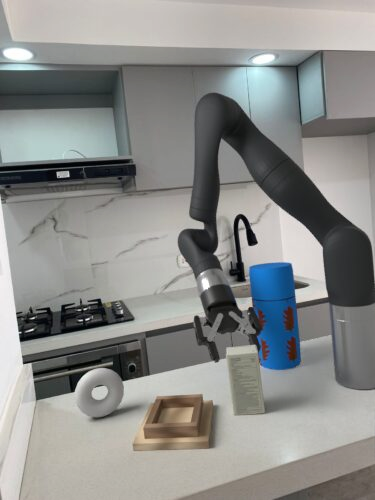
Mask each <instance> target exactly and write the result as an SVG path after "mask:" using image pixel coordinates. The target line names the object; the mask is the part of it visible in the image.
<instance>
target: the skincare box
mask: <svg viewBox="0 0 375 500" xmlns="http://www.w3.org/2000/svg"><path fill="white" fill-rule="evenodd" d="M225 358H226V366H227V374H228V380H229V389H230V395H231V396H230V397H231V405H232V412H233V413H232V414H233V415H234V416H244V415H257V414H265V413H266V408H265V407H266V406H265V399H264V392H263V391H264V390H263V384H262V374H261V367H260V366H261V365H260V363H259V357H258V350H257V347H256V345H250V344H248V345H238V346H229V347H227V346H226V347H225Z"/></svg>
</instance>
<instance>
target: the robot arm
mask: <svg viewBox="0 0 375 500" xmlns="http://www.w3.org/2000/svg"><path fill="white" fill-rule="evenodd" d="M193 122H194V166H193V167H194V168H193V169H194V170H193V181H192V189H191V195H190V202H189V210H188V215H189V218H191V220H194V221H197V222H199V223H203V228H185V229H183V230H181V231H180V232H179V234H178V237H177V247H178V251H179V252H180V255H181V256H182V257H183V258H184V260H185V262H186V263H187V265H188V266H189V267H190V268H191V271H192V273H193V276H194V279H195V282H196V288H197V292H198V297H199V299H200V302H201V305H202V308H203V312H204V315H205V316H199V315H194V317H193V323H192V325H193V330H194V335H195V340H196V344H197V346H198V347H201V346H205V347H207V350H208V354H209V357H210V359H211V361H214V363H219V362H220V360H221V359H220V355H219V354H220V353H219V351H218V348H217V344H216V341H215V339H216V338H217V335H218V334H220V335H225V334H227V333H235V332H237V333H238V334H240V335H242V336H245V337H246V338H248V343H249V345H256V347H257V350H258V353H259V351H260V349H261V346H260V344H259V341H258V338H257V335H260V333H261V330H262V329H263V327H262V325H261V323H260V321H259V319H258V317H257V315H256V313H255V311H254V309H253V306H248V308H247V309H243V310H242V309H240V308H239V305H238V303H237V299H236V298H235V295H234V292H233V290H232V287H231V284H230V283H229V280H228V278H227V276H226V275H225V272H224V270H223V267H222V264H221V261H220V259H219V258H218V256H217V255H216V254H215V253H216V252H217V250H218V247H219V235H218V234H219V233H218V224H217V223H218V222H217V213H218V206H219V200H220V196H221V195H220V192H221V180H220V179H221V178H220V171H219V150H220V144H221V141H224V142H226V144H228V145H229V146H230V147H231V148H232V149H233V150H234V151H235V152H236V153H237V154H238V155H239V156H240V158H241V159H242V161H243V163H244V165H245V167H246V169H247V171H248V172H249V174H250V176H251V177H252V179H253V181H254V182H255V184H256V185H257V186H258V187H259V189H261V190H262V191H263V193H264V194H265V195H266V196H267V198H269V199H270V200H271V201H272V202H274V204H275V205H276V206H278V207H279V208H280V209H282V211H284V212H286V213H287V214H288V215H290V217H292V218H294V219H295V220H296V221H297V222H299V223H300V224H302V225H303V226H304V227H305V228H306V229H307V230H308V231H309V232H310V233H311V235H312V236H313V237H314V238H315V240H316V241H317V242H318V243H319V244H320V246H321V247H322V263H323V272H324V280H325V289H326V294H327V300H328V311H329V320H330V321H329V322H330V323H329V324H330V332H331V333H330V334H331V344H332V356H333V366H334V367H333V369H334V378H335V381H336V382H337V383H338V384H339V385H342V386H343V387H346V388H350V389H355V390H372V389H375V269H374V268H375V267H374V266H375V265H374V254H373V245H372V242H371V239H370V237H369V235H368V234H367V233H366V232H365V231H364V230H362V229H361V228H360V227H358V226H357V225H355V224H354V223H353V222H352V221H351V220H349V219H348V218H346V216H344V215H343V214H342V213H341V212H340V211H338V210H337V209H336V208H335V207H334V206H333V205H332V204H331V203H330V201H329V200H328V199H327V198H326V197H325V195H324V194H323V193H322V192H321V190H320V188H318V186H317V185H316V184H315V183H314V182H313V180H312V179H311V178H310V177H309V175H308V174H306V172H305V171H304V170H303V169H302V168H301V167H300V166H299V165H298V164H297V163H296V162H295V161H294V160H293V158H291V157H290V156H289V155H288V154H287V153H286V152H285V151H284V150H282V149H281V148H280V146H278V145H277V144H276V143H275V142H274V141H272V140H271V139H270V138H268V137H267V136H266V135H265V134H264V133H262V131H261V130H260V129H259V128H258V127H257V126H256V124H255V123H254V122H253V120H251V118H250V116H248V115H247V113H246V112H245V111H244V109H243V108H242V106H241V105H240V104H239V103H238V102H237V101H236V100H235V99H233V98H232V97H229V96H226V95H225V94H221V93H218V92H209V93H206V94H204V95H203V96H202V97H201V98H200V99H199V100H198V102H197V104H196V106H195V109H194V121H193ZM243 318H245V320H246V321H245V320H244V319H243ZM247 321H248V322H249V324H250V325H249V324H248V322H247ZM204 324H205V325H207V326H208V327H210V332H209V334H208V336H204V331H203V328H204Z"/></svg>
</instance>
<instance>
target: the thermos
mask: <svg viewBox="0 0 375 500" xmlns="http://www.w3.org/2000/svg"><path fill="white" fill-rule="evenodd" d="M248 269H249V270H248V276H249V286H250V295H251V304H252V306H251V307H253V309H254V311H255V313H256V315H257V317H258V319H259V321H260V323H261V325H262V327H263V329H262V330H261V333H260V335H257V338H258V341H259V344H260V346H261V349H260V351H259V353H258V357H259V365H260V366H261V367H263V368H265V369H268V370H275V371H276V370H277V371H280V370H283V371H284V370H285V371H286V370H291V369H294V368H296V366H297V367H298V366H300V364H301V363H302V362H301V361H302V360H301V357H302V356H301V355H302V353H301V340H300V332H299V331H300V329H299V321H298V320H299V319H298V310H297V295H296V287H295V275H294V268H293V265H292V262H285V261H284V262H281V261H280V262H279V261H278V262H266V263H258V264H254V265H251V266H249V267H248ZM300 362H301V363H300ZM290 368H291V369H290Z"/></svg>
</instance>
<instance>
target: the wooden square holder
mask: <svg viewBox="0 0 375 500" xmlns="http://www.w3.org/2000/svg"><path fill="white" fill-rule="evenodd" d="M213 412H214V401H213V399H209V400H208V399H205V400H204V396H203V393H198V394H197V393H196V394H195V393H194V394H177V395H176V394H175V395H156V397H155V400H154V402H151V403H150V405H149V407H148V408H147V411H146V413H145V416H144V418H143V420H142V422H141V424H140V426H139V428H138V431H137V433H136V436H135V437H134V440H133V442H132V451H159V450H161V451H164V450H165V451H166V450H191V449H192V450H194V449H197V450H198V449H210V443H211V442H210V440H211V433H212V431H211V430H212V422H213V421H212V420H213Z"/></svg>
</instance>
